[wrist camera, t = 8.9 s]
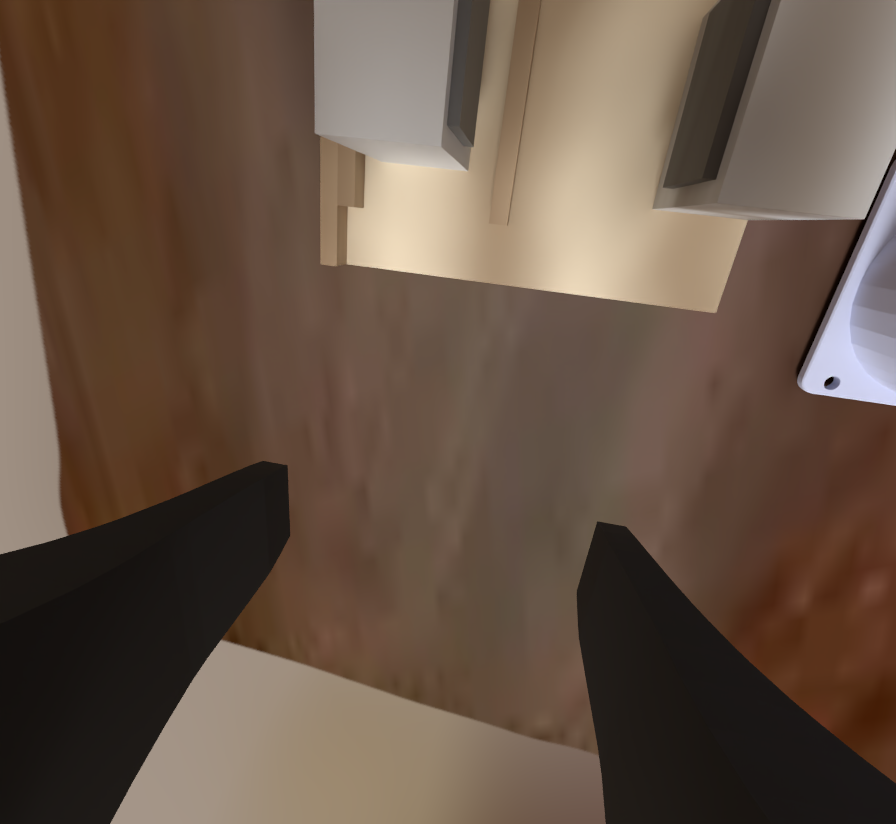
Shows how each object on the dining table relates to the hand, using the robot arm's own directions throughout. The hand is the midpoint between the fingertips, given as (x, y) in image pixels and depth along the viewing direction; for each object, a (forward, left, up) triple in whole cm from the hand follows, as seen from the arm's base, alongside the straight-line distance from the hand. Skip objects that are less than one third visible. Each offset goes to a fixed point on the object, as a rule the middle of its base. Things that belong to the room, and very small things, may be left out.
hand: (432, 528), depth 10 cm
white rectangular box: (+3, -11, -9) cm, 14 cm away
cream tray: (-1, -10, -10) cm, 14 cm away
